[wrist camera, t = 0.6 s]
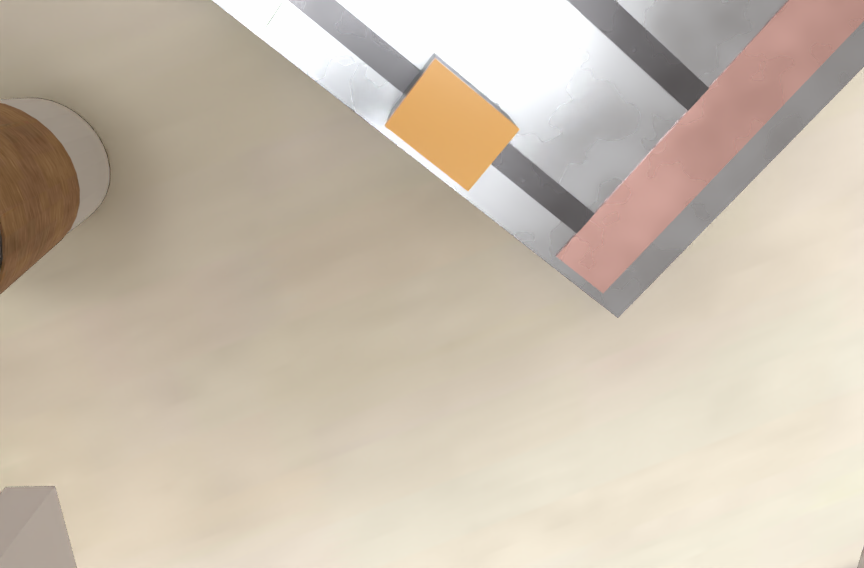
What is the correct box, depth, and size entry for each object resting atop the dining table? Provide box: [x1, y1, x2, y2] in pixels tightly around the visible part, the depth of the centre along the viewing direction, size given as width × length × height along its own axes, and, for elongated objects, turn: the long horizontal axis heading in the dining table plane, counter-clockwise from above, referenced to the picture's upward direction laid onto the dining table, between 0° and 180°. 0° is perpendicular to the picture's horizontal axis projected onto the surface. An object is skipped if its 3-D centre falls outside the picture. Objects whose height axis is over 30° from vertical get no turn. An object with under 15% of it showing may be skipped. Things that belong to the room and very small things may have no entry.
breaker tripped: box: [385, 53, 520, 191], centre depth 27 cm, size 4×3×4 cm
